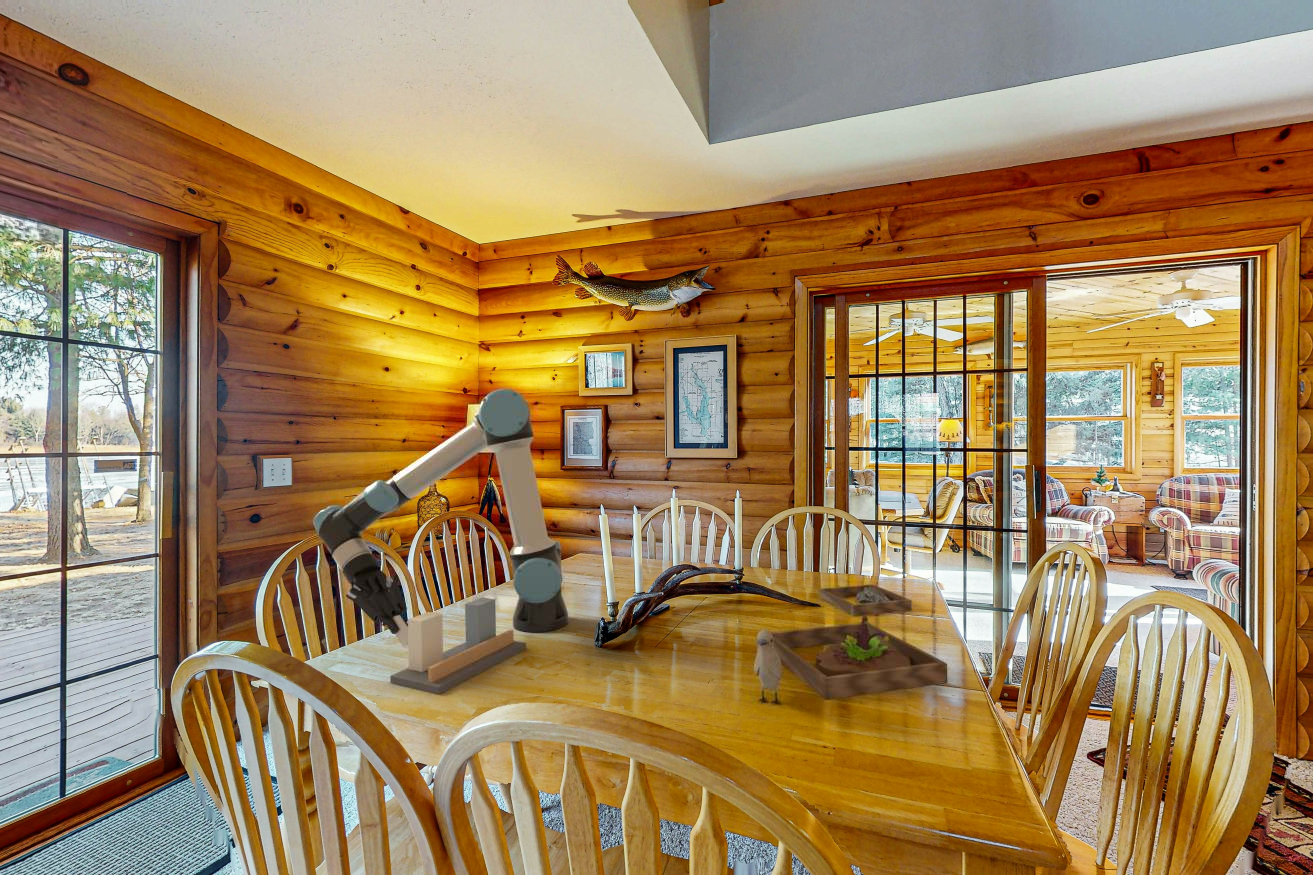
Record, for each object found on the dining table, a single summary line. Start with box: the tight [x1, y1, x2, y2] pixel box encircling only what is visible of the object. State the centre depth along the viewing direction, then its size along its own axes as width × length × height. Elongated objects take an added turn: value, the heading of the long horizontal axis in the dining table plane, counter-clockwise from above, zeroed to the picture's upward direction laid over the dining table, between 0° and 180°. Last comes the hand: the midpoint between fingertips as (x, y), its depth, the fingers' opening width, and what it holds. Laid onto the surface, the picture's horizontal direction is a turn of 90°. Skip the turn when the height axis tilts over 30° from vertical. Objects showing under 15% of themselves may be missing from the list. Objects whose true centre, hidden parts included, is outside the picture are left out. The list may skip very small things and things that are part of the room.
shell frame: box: [818, 583, 912, 617], centre depth 179 cm, size 19×19×3 cm
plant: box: [815, 615, 912, 677], centre depth 132 cm, size 20×20×11 cm
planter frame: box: [769, 621, 948, 701], centre depth 133 cm, size 28×28×4 cm
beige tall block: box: [407, 611, 444, 672], centre depth 132 cm, size 4×6×11 cm, turn 154°
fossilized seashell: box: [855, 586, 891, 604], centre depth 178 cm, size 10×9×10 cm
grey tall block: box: [464, 597, 497, 650], centre depth 143 cm, size 4×6×11 cm, turn 154°
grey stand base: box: [389, 629, 527, 695], centre depth 137 cm, size 14×28×4 cm, turn 154°
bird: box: [753, 628, 783, 706], centre depth 115 cm, size 5×14×15 cm, turn 158°
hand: (408, 641), depth 134 cm, fingers closed
